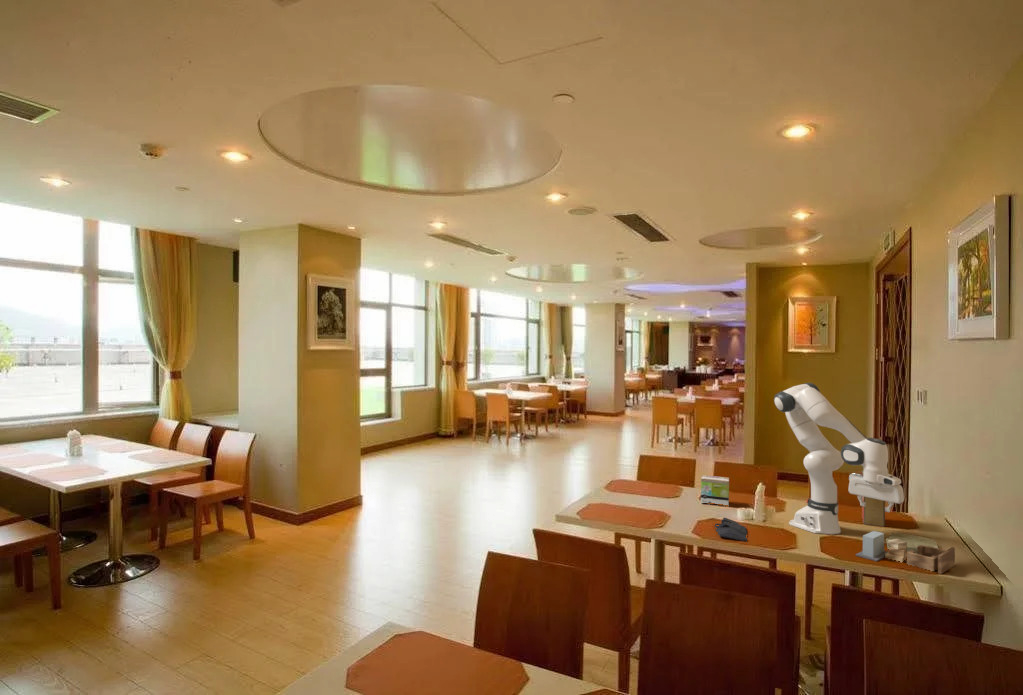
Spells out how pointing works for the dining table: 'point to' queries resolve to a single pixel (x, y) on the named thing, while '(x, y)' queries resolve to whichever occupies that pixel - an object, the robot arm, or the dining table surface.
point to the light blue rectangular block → (873, 544)
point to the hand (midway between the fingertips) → (875, 508)
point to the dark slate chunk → (731, 530)
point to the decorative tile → (912, 541)
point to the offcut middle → (898, 551)
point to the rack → (932, 558)
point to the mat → (872, 557)
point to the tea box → (715, 490)
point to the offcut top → (897, 544)
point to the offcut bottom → (896, 557)
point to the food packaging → (873, 512)
